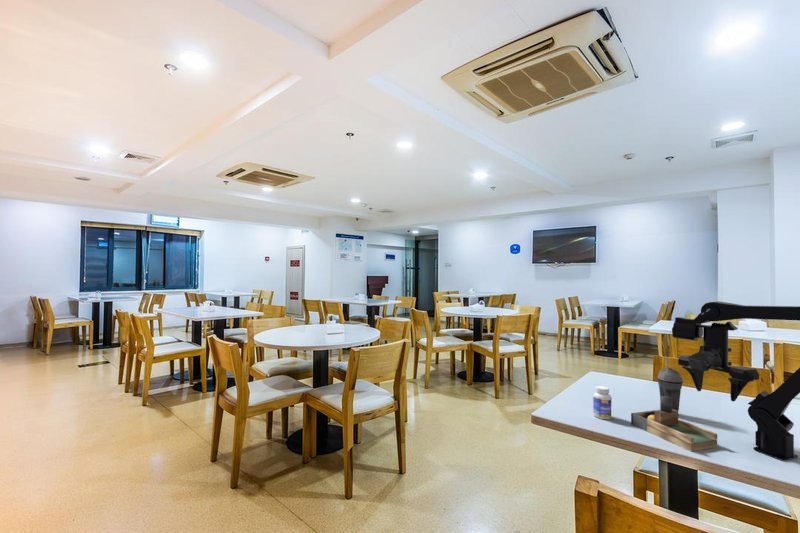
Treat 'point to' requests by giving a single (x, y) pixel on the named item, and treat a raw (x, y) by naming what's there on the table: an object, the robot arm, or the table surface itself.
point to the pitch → (684, 435)
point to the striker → (666, 412)
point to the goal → (641, 419)
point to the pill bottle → (602, 403)
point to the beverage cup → (670, 385)
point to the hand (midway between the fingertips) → (715, 395)
